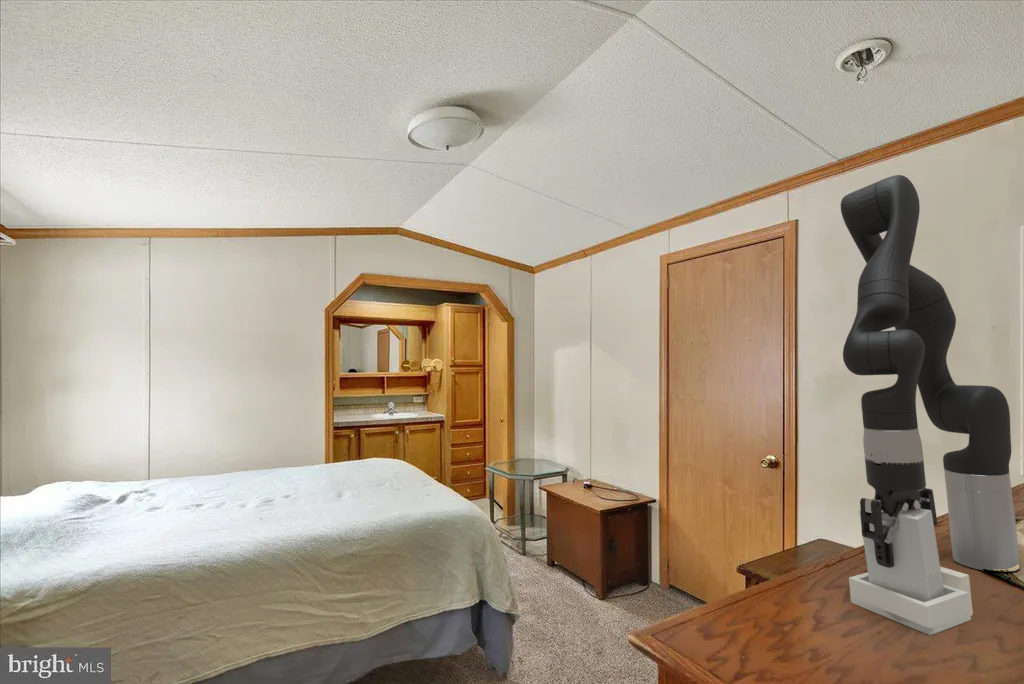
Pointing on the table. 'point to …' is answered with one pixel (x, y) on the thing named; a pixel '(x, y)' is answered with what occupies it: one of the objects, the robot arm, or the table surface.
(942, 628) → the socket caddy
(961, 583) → the wall
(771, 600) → the table surface
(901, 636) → the table surface
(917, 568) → the skincare box
